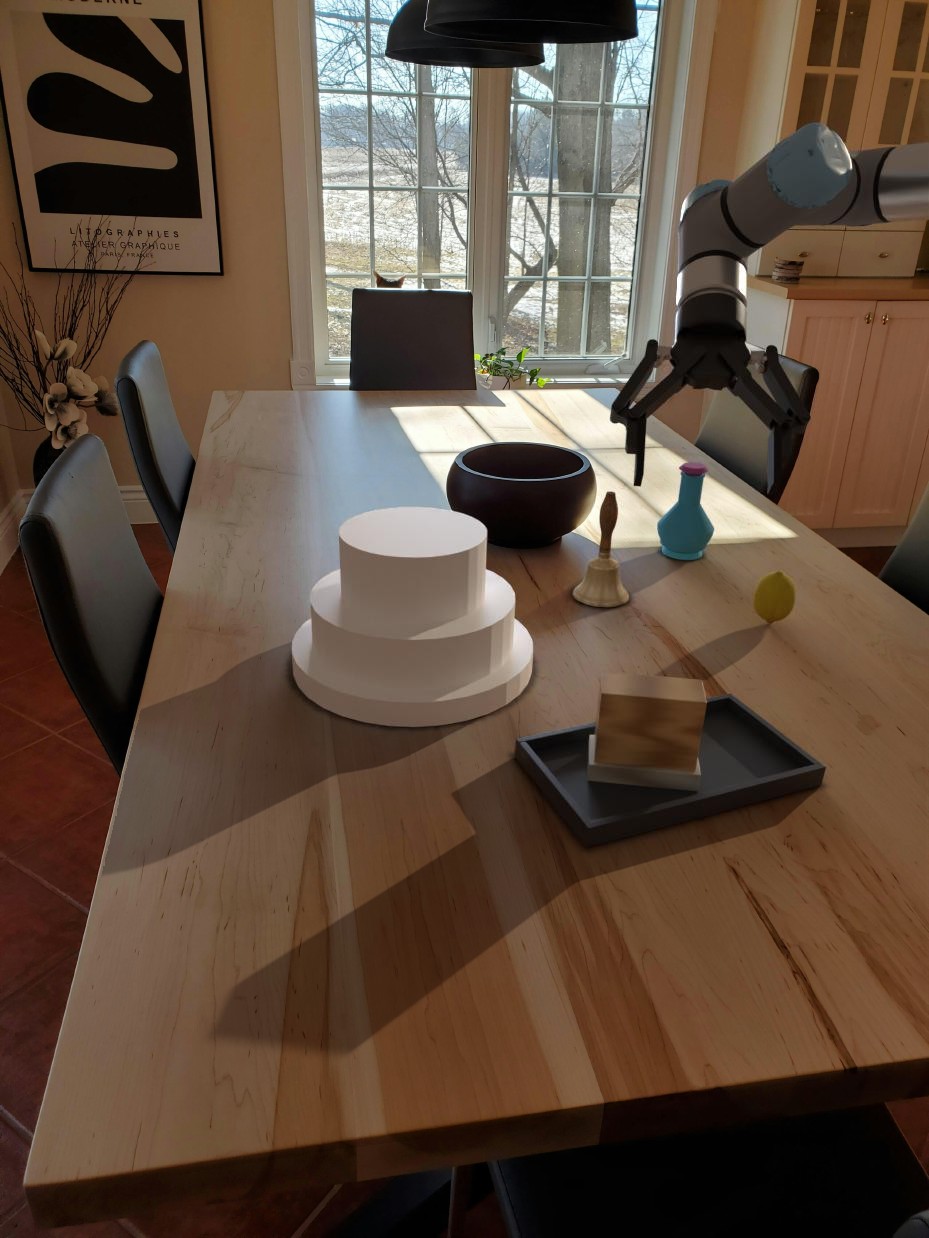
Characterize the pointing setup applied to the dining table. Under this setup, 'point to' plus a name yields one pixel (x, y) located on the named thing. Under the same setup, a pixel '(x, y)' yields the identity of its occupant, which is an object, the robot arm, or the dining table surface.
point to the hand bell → (603, 565)
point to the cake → (412, 624)
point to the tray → (730, 778)
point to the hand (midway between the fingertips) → (705, 484)
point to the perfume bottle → (686, 518)
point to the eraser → (647, 731)
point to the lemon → (774, 597)
